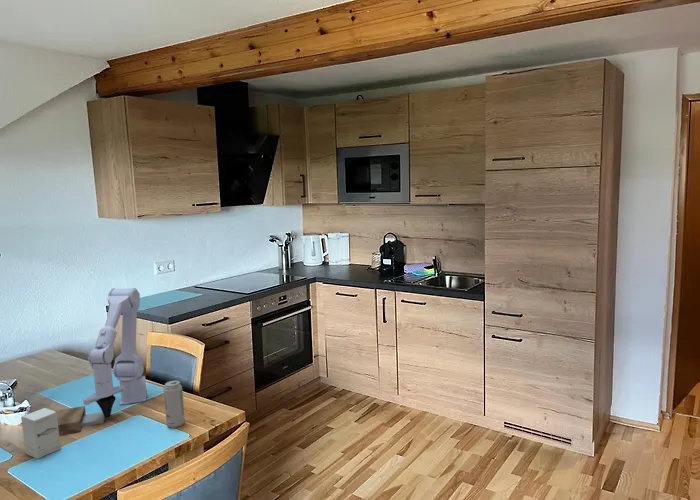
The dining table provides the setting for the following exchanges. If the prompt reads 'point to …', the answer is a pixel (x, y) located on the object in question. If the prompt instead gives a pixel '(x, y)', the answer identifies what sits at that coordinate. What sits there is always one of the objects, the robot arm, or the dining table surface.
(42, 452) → the supplement box
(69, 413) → the walnut shelf
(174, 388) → the energy drink can
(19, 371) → the dining table surface
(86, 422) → the slate tile
